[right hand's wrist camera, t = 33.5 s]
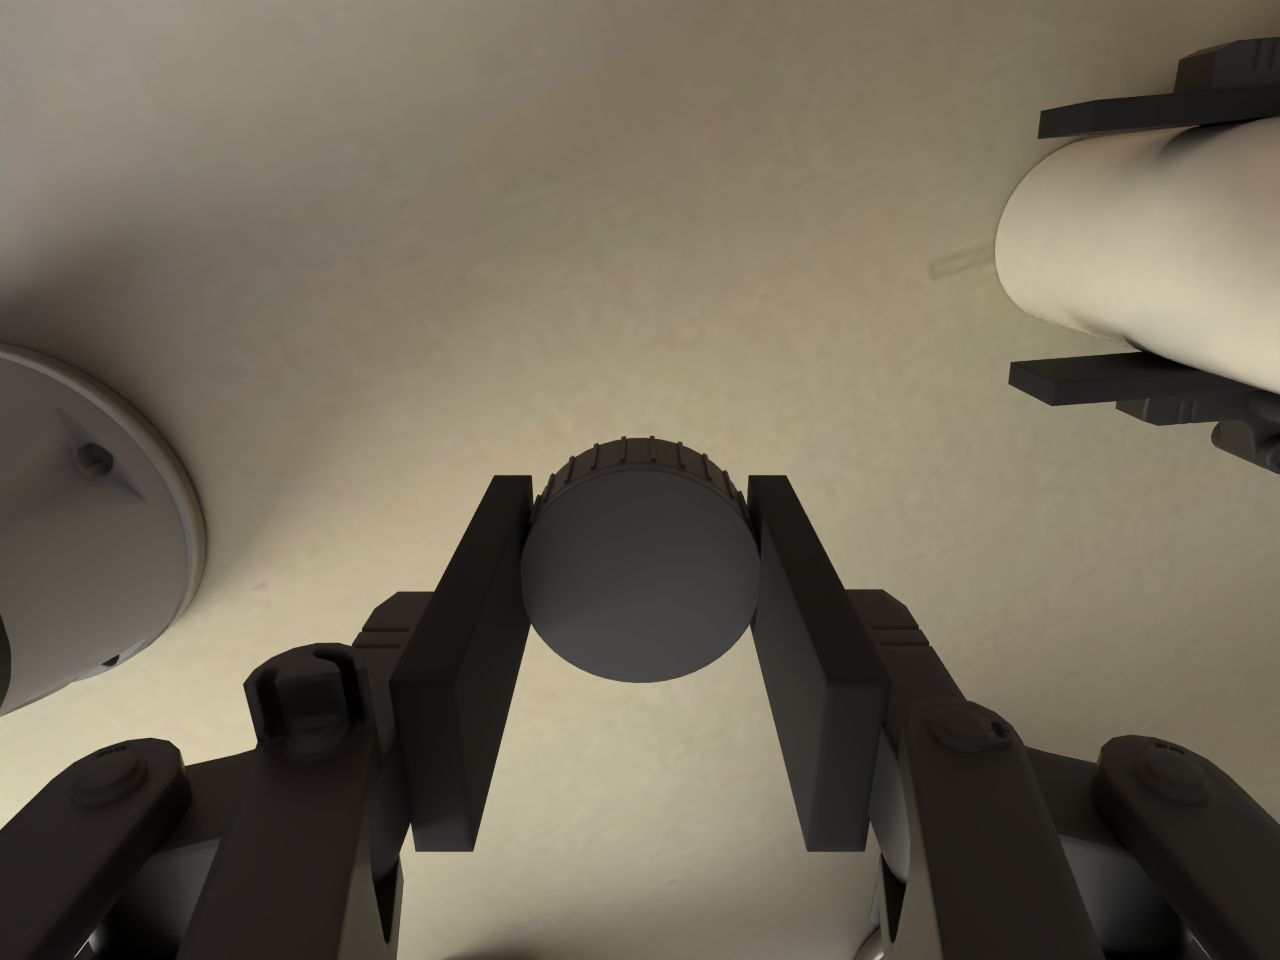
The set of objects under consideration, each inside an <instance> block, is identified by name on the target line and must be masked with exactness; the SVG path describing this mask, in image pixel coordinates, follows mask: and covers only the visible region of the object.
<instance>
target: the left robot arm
mask: <svg viewBox="0 0 1280 960" xmlns="http://www.w3.org/2000/svg"><path fill="white" fill-rule="evenodd" d="M1275 116H1280V37H1276V38H1275V37H1273V38H1262V39H1250V40H1239V41H1234V42H1230V43H1226V44H1222V45H1218V46H1214V47H1210V48H1206V49H1202V50H1199V51H1197V52H1195V53H1193V54H1191V55H1189V56H1187V57H1185V58H1183V59H1181V60H1179V65H1178V71H1177V76H1176V82H1175V87H1174V93H1173V94H1162V95H1150V96H1139V97H1127V98H1115V99H1104V100H1094V101H1089V102H1084V103H1079V104H1074V105H1069V106H1064V107H1059V108H1054V109H1049V110H1044V111H1041V116H1040V124H1039V132H1038V139H1043V138H1055V137H1067V136H1079V135H1091V134H1103V133H1114V132H1126V131H1138V130H1150V129H1162V128H1174V127H1185V126H1197V125H1207V124H1215V123H1224V122H1233V121H1241V120H1250V119H1258V118H1267V117H1275ZM1008 384H1010V385H1012V386H1014V387H1015V388H1017V389H1019V390H1021V391H1023V392H1025V393H1027V394H1029V395H1031V396H1033V397H1035V398H1037V399H1039V400H1041V401H1043V402H1045V403H1047V404H1049V405H1050V406H1059V405H1072V404H1085V403H1098V402H1111V401H1117V403H1116V409H1118V410H1120V411H1122V412H1125V413H1127V414H1129V415H1131V416H1133V417H1136V418H1138V419H1140V420H1142V421H1145V422H1148V423H1151V424H1154V425H1157V426H1161V425H1174V424H1187V423H1200V422H1213V421H1219V423H1218V424H1217V425H1216V427H1215V428H1214V429H1213V432H1212V435H1211V439H1212V443H1213V444H1214V446H1216V447H1218V448H1220V449H1222V450H1224V451H1227V452H1229V453H1231V454H1233V455H1235V456H1238V457H1240V458H1242V459H1244V460H1247V461H1249V462H1251V463H1253V464H1256V465H1258V466H1260V467H1263V468H1265V469H1268V470H1270V471H1272V472H1275V473H1277V474H1280V395H1279V394H1276V393H1273V392H1270V391H1266V390H1263V389H1260V388H1257V387H1254V386H1251V385H1247V384H1244V383H1241V382H1238V381H1235V380H1232V379H1228V378H1225V377H1222V376H1219V375H1216V374H1212V373H1209V372H1206V371H1203V370H1200V369H1197V368H1193V367H1190V366H1187V365H1184V364H1181V363H1178V362H1174V361H1171V360H1168V359H1165V358H1162V357H1158V356H1155V355H1152V354H1149V353H1146V352H1133V353H1120V354H1108V355H1095V356H1082V357H1070V358H1057V359H1044V360H1031V361H1019V362H1011V366H1010V374H1009V383H1008ZM855 960H884V957H883V946H882V935H881V927H880V928H879V929H878V930H877V931H876V932H875V933H874V934H873V935H872V936H871V937H870V938H869V939H868V940H867V941H866V943H865V944H864V945H863V947H862V948H861V950H860V951H859V953H858V955H857V957H856V959H855Z"/></svg>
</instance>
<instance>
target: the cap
mask: <svg viewBox="0 0 1280 960" xmlns="http://www.w3.org/2000/svg"><path fill="white" fill-rule="evenodd" d="M751 521H752V520H751V517H750V514H749V511H748V508H747V505H746V502H745V499H744V496H743V494H742V492H741V491H739V492H738V491H737V489H736V488H735V486H734V484H733V483H732V482H731V480H730V478H729V475H728V472H727V471H726V470H724V471H722V470H721V469H720V468H719V467H717V466H716V465H715V464H714V463H713V462H712V461H710V460H709V459H708V456H707V455H706V454H705V453H703V455H701V454H700V453H698V452H696V451H694V450H692V449H690V448H688V447H685V446H683V444H682V442H679V441H678V443H674V442H669V441H665V440H661V439H655V437H654V436H650V438H628V439H626V436H624V437H622V438H621V440H615V441H611V442H608V443H604V444H601V445H599V444H598V443H596V444H594V448H591V449H589V450H587V451H585V452H583V453H582V454H580V455H578V456H576V457H574V456H571V457H570V459H569V462H568V463H567V464H566V465H564V466H563V467H562V468H561V469H560V470H559V471H558V472H557V473H556V474H553V473H552V474H551V476H550V478H549V482H548V485H547V486H546V487H545V489H544V491H543V493H542V495H541V496H540V495H538V496H537V498H536V501H535V503H534V506H533V509H532V512H531V515H530V518H529V521H528V524H527V525H529V526H530V527H529V530H528V533H527V536H526V539H525V542H524V545H523V548H522V551H521V556H520V570H521V584H522V598H523V607H524V609H525V611H526V614H527V616H528V619H529V620H530V622H531V624H532V625H533V627H534V629H535V630H536V632H537V633H538V634H539V636H540V637H541V638H542V640H543V641H544V642H545V643H546V644H547V645H548V646H549V647H550V648H551V649H552V650H553V651H554V652H555V653H557V654H558V655H559V656H560V657H562V658H563V659H564V660H566V661H567V662H569V663H571V664H572V665H574V666H576V667H577V668H579V669H581V670H584V671H586V672H588V673H591V674H593V675H596V676H599V677H603V678H606V679H610V680H615V681H621V682H631V683H651V682H659V681H666V680H670V679H675V678H679V677H682V676H685V675H687V674H690V673H693V672H695V671H697V670H699V669H701V668H703V667H705V666H707V665H709V664H710V663H712V662H713V661H715V660H717V659H718V658H720V657H721V656H722V655H723V654H724V653H725V652H727V651H728V650H729V649H730V648H731V647H732V646H733V645H734V644H735V643H736V642H737V641H738V640H739V638H740V637H741V636H742V634H743V633H744V632H745V630H746V629H747V627H748V626H749V624H750V622H751V620H752V618H753V616H754V614H755V612H756V609H757V604H758V591H759V577H760V562H761V556H760V552H759V548H758V542H757V539H756V536H755V533H754V530H753V527H752V524H751Z"/></svg>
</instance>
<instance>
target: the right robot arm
mask: <svg viewBox="0 0 1280 960" xmlns="http://www.w3.org/2000/svg"><path fill="white" fill-rule="evenodd" d="M533 506H534V504H533V488H532V475H494V477H493V479H492V481H491V483H490V485H489V487H488V489H487V491H486V493H485V495H484V496H483V498H482V500H481V502H480V504H479V506H478V508H477V510H476V512H475V514H474V516H473V518H472V520H471V522H470V524H469V526H468V528H467V529H466V531H465V533H464V535H463V537H462V539H461V541H460V543H459V545H458V547H457V549H456V551H455V553H454V555H453V557H452V559H451V561H450V562H449V564H448V566H447V568H446V570H445V572H444V574H443V576H442V578H441V580H440V582H439V584H438V586H437V588H436V590H435V592H397V593H395V594H394V595H393V596H391V597H390V598H389V599H387V600H386V601H384V602H383V603H382V604H380V605H379V606H378V607H376V608H375V609H374V611H373V612H372V614H371V615H370V617H369V618H368V620H367V622H366V623H365V625H364V626H363V628H362V632H360V633H359V634H358V636H357V637H356V639H355V640H354V642H353V644H352V646H348V645H345V644H341V643H315V644H310V645H306V646H301V647H297V648H293V649H291V650H288V651H286V652H283V653H281V654H279V655H276V656H274V657H272V658H270V659H269V660H267V661H266V662H265V663H263V664H262V665H260V666H259V667H257V668H256V669H255V670H254V671H253V672H252V673H251V674H250V676H249V677H248V678H247V680H246V681H245V682H244V684H243V686H244V690H245V694H246V698H247V702H248V706H249V709H250V713H251V717H252V721H253V725H254V729H255V733H256V737H257V741H258V743H257V745H256V748H255V749H254V750H250V751H247V752H243V753H240V754H237V755H233V756H228V757H224V758H219V759H215V760H210V761H206V762H201V763H197V764H192V765H188V766H184V762H183V759H182V756H181V753H180V750H179V749H178V748H177V747H176V746H174V745H173V744H172V743H171V742H170V741H167V740H161V739H155V738H144V739H135V740H127V741H123V742H120V743H117V744H114V745H110V746H108V747H105V748H102V749H99V750H97V751H95V752H93V753H91V754H89V755H88V756H86V757H84V758H82V759H80V760H78V761H76V762H74V763H73V764H71V765H70V766H69V767H68V768H66V769H65V770H64V771H62V772H61V773H60V774H59V775H57V776H56V777H55V778H53V779H52V780H51V781H50V782H49V783H48V784H47V785H46V786H45V787H44V788H43V789H42V790H41V791H40V792H39V793H38V794H37V795H36V796H35V797H34V798H33V799H32V800H31V801H30V802H29V803H27V804H26V805H25V806H24V807H23V808H22V809H21V810H20V811H19V812H18V813H17V814H16V815H15V816H14V817H13V818H12V819H11V820H10V821H9V822H8V823H7V824H6V825H5V826H4V827H3V828H2V829H1V830H0V960H72V959H73V958H74V957H75V955H76V954H77V953H78V951H79V950H80V949H81V948H82V946H83V945H84V944H85V942H86V941H87V940H88V941H87V943H86V944H85V945H84V947H83V948H82V949H81V951H80V952H79V953H78V955H77V956H76V957H75V958H74V959H73V960H396V959H397V948H398V937H399V926H400V915H401V904H402V893H403V882H404V880H403V874H402V867H401V861H400V855H399V853H400V850H401V847H402V845H403V842H404V839H405V836H406V834H407V831H408V828H409V825H410V823H411V826H412V832H413V838H414V844H415V851H416V852H473V850H474V846H475V842H476V839H477V835H478V831H479V827H480V823H481V819H482V815H483V811H484V807H485V803H486V799H487V795H488V791H489V787H490V783H491V779H492V775H493V771H494V767H495V763H496V759H497V755H498V752H499V748H500V744H501V740H502V736H503V732H504V728H505V724H506V720H507V716H508V712H509V708H510V704H511V700H512V696H513V692H514V688H515V684H516V680H517V676H518V672H519V669H520V665H521V661H522V657H523V653H524V649H525V645H526V641H527V637H528V633H529V629H530V625H531V622H530V620H529V619H528V616H527V614H526V611H525V609H524V607H523V598H522V584H521V570H520V556H521V551H522V548H523V545H524V542H525V539H526V536H527V533H528V530H529V527H530V526H529V525H527V524H528V521H529V518H530V515H531V512H532V509H533ZM747 508H748V511H749V514H750V517H751V520H752V521H751V524H752V527H753V530H754V533H755V536H756V539H757V542H758V548H759V552H760V556H761V562H760V577H759V591H758V604H757V609H756V612H755V614H754V616H753V618H752V620H751V622H750V627H751V631H752V635H753V639H754V643H755V647H756V651H757V655H758V659H759V663H760V667H761V671H762V675H763V679H764V683H765V687H766V691H767V694H768V698H769V702H770V706H771V710H772V714H773V718H774V722H775V726H776V730H777V734H778V738H779V742H780V746H781V750H782V754H783V758H784V762H785V766H786V770H787V773H788V777H789V781H790V785H791V789H792V793H793V797H794V801H795V805H796V809H797V813H798V817H799V821H800V825H801V829H802V833H803V837H804V841H805V845H806V849H807V852H865V847H866V841H867V835H868V829H869V823H870V821H871V823H872V826H873V829H874V832H875V834H876V837H877V840H878V843H879V845H880V848H881V855H880V861H879V867H878V873H877V878H876V884H875V890H874V896H873V901H872V907H871V914H870V920H869V923H872V924H877V925H878V923H879V918H880V924H881V935H882V946H883V957H884V960H1211V959H1212V960H1280V825H1279V824H1278V823H1277V822H1276V821H1275V820H1274V819H1273V818H1272V817H1271V816H1270V815H1269V814H1268V813H1267V812H1266V811H1265V810H1264V809H1263V808H1262V807H1261V806H1260V805H1259V804H1258V803H1257V802H1256V801H1255V800H1254V799H1252V798H1251V797H1250V796H1249V795H1248V794H1247V793H1246V792H1245V791H1244V790H1243V789H1242V788H1241V787H1240V786H1239V785H1238V784H1237V783H1236V782H1235V781H1234V780H1233V779H1232V778H1231V777H1230V776H1228V775H1227V774H1226V773H1225V772H1223V771H1222V770H1221V769H1219V768H1218V767H1217V766H1215V765H1214V764H1213V763H1212V762H1210V761H1209V760H1208V759H1206V758H1204V757H1202V756H1200V755H1198V754H1196V753H1194V752H1192V751H1190V750H1188V749H1186V748H1184V747H1182V746H1180V745H1177V744H1174V743H1171V742H1167V741H1164V740H1161V739H1158V738H1154V737H1146V736H1137V735H1127V736H1121V737H1116V738H1112V739H1111V740H1109V741H1108V742H1107V743H1106V744H1105V745H1104V746H1102V748H1101V751H1100V754H1099V758H1098V761H1097V763H1092V762H1088V761H1083V760H1079V759H1074V758H1070V757H1065V756H1061V755H1056V754H1052V753H1047V752H1044V751H1040V750H1037V749H1033V748H1030V747H1027V746H1024V744H1023V742H1022V740H1021V738H1020V737H1019V735H1018V734H1017V732H1016V731H1015V729H1014V728H1013V726H1012V725H1010V724H1009V723H1008V722H1007V721H1005V720H1004V719H1003V718H1002V717H1000V716H999V715H998V714H997V713H995V712H994V711H991V710H989V709H987V708H985V707H983V706H981V705H979V704H977V703H975V702H971V701H967V700H966V699H965V697H964V696H963V694H962V693H961V691H960V690H959V688H958V686H957V685H956V683H955V682H954V680H953V679H952V677H951V676H950V674H949V672H948V671H947V669H946V668H945V666H944V665H943V663H942V662H941V660H940V658H939V657H938V655H937V654H936V652H935V651H934V649H933V648H932V646H929V641H928V640H927V638H926V637H925V635H924V634H923V632H922V630H919V626H918V624H917V623H916V621H915V619H914V618H913V616H912V615H911V613H910V612H909V610H908V609H907V607H906V606H905V605H904V604H902V603H901V602H899V601H898V600H897V599H895V598H894V597H892V596H891V595H890V594H888V593H887V592H886V591H884V590H883V589H844V587H843V585H842V583H841V581H840V579H839V577H838V575H837V573H836V571H835V569H834V567H833V565H832V563H831V562H830V560H829V558H828V556H827V554H826V552H825V550H824V548H823V546H822V544H821V542H820V540H819V538H818V536H817V534H816V532H815V530H814V529H813V527H812V525H811V523H810V521H809V519H808V517H807V515H806V513H805V511H804V509H803V507H802V505H801V503H800V501H799V499H798V498H797V496H796V494H795V492H794V490H793V488H792V486H791V484H790V482H789V480H788V478H787V476H786V475H749V479H748V496H747ZM205 552H206V542H205V530H204V523H203V518H202V514H201V510H200V506H199V503H198V500H197V497H196V495H195V492H194V489H193V487H192V485H191V483H190V481H189V479H188V476H187V474H186V472H185V471H184V469H183V467H182V466H181V464H180V462H179V461H178V459H177V457H176V456H175V454H174V453H173V452H172V450H171V449H170V447H169V446H168V445H167V443H166V442H165V441H164V439H163V438H162V437H161V436H160V435H159V433H158V432H157V431H156V430H155V429H154V427H153V426H152V425H151V424H150V423H149V422H148V421H147V420H146V419H145V418H144V417H143V416H142V415H141V414H140V413H139V412H138V411H136V410H135V409H134V408H133V407H132V406H131V405H130V404H128V403H127V402H126V401H125V400H124V399H122V398H121V397H120V396H119V395H117V394H116V393H115V392H113V391H112V390H111V389H109V388H108V387H106V386H105V385H103V384H102V383H100V382H99V381H97V380H95V379H94V378H92V377H91V376H89V375H87V374H85V373H83V372H82V371H80V370H78V369H76V368H74V367H72V366H70V365H68V364H66V363H63V362H61V361H59V360H57V359H55V358H52V357H49V356H47V355H44V354H41V353H38V352H35V351H32V350H28V349H25V348H21V347H17V346H13V345H8V344H2V343H0V717H1V716H3V715H6V714H8V713H10V712H13V711H15V710H17V709H20V708H22V707H24V706H27V705H29V704H31V703H33V702H36V701H38V700H40V699H42V698H44V697H46V696H48V695H51V694H53V693H55V692H56V691H58V690H60V689H62V688H64V687H65V686H67V685H69V684H70V683H72V682H75V681H80V680H83V679H87V678H90V677H93V676H95V675H98V674H101V673H103V672H105V671H108V670H110V669H112V668H114V667H116V666H118V665H120V664H122V663H123V662H125V661H127V660H128V659H130V658H131V657H133V656H134V655H136V654H138V653H139V652H141V651H142V650H144V649H145V648H146V647H148V646H149V645H151V644H152V643H153V642H154V641H155V640H156V639H157V638H158V637H160V636H161V635H162V634H163V633H164V632H165V631H166V630H167V629H168V628H169V627H170V626H171V625H172V624H173V623H175V622H176V621H177V619H178V618H179V617H180V616H181V615H182V614H183V613H184V611H185V610H186V609H187V607H188V606H189V604H190V603H191V601H192V599H193V597H194V595H195V593H196V591H197V589H198V586H199V583H200V581H201V578H202V574H203V569H204V564H205ZM1194 936H1195V938H1196V939H1197V940H1198V942H1199V943H1200V944H1201V946H1202V947H1203V948H1204V950H1205V951H1206V952H1207V954H1208V955H1209V956H1210V957H1211V959H1210V958H1209V957H1208V956H1207V955H1206V954H1205V953H1204V951H1203V950H1202V949H1201V947H1200V946H1199V945H1198V943H1197V942H1196V941H1195V939H1194V938H1193V937H1194Z"/></svg>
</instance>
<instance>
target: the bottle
mask: <svg viewBox="0 0 1280 960" xmlns="http://www.w3.org/2000/svg"><path fill="white" fill-rule="evenodd" d="M995 260H996V267H997V271H998V275H999V279H1000V281H1001V283H1002V285H1003V288H1004V290H1005V291H1006V293H1007V294H1008V296H1009V297H1010V298H1011V300H1012V301H1013V302H1014V303H1015V304H1016V305H1017V306H1018V307H1019V308H1021V309H1022V310H1023V311H1025V312H1026V313H1028V314H1030V315H1032V316H1033V317H1036V318H1039V319H1041V320H1044V321H1047V322H1050V323H1054V324H1057V325H1060V326H1063V327H1066V328H1070V329H1073V330H1076V331H1079V332H1082V333H1085V334H1089V335H1092V336H1095V337H1098V338H1101V339H1104V340H1108V341H1111V342H1114V343H1117V344H1120V345H1124V346H1127V347H1130V348H1133V349H1136V350H1139V351H1143V352H1146V353H1149V354H1152V355H1155V356H1158V357H1162V358H1165V359H1168V360H1171V361H1174V362H1178V363H1181V364H1184V365H1187V366H1190V367H1193V368H1197V369H1200V370H1203V371H1206V372H1209V373H1212V374H1216V375H1219V376H1222V377H1225V378H1228V379H1232V380H1235V381H1238V382H1241V383H1244V384H1247V385H1251V386H1254V387H1257V388H1260V389H1263V390H1266V391H1270V392H1273V393H1276V394H1279V395H1280V116H1275V117H1267V118H1258V119H1250V120H1241V121H1233V122H1224V123H1215V124H1207V125H1198V126H1189V127H1180V128H1172V129H1163V130H1155V131H1146V132H1138V133H1129V134H1121V135H1112V136H1104V137H1095V138H1090V139H1085V140H1081V141H1078V142H1075V143H1072V144H1069V145H1067V146H1065V147H1063V148H1061V149H1059V150H1057V151H1056V152H1054V153H1052V154H1051V155H1049V156H1048V157H1046V158H1045V159H1044V160H1042V161H1041V162H1040V163H1039V164H1037V165H1036V166H1035V167H1034V168H1033V169H1032V170H1031V171H1030V172H1029V173H1028V174H1027V175H1026V176H1025V177H1024V179H1023V180H1022V181H1021V182H1020V184H1019V185H1018V186H1017V188H1016V189H1015V191H1014V192H1013V194H1012V195H1011V197H1010V199H1009V201H1008V203H1007V205H1006V207H1005V209H1004V211H1003V214H1002V216H1001V219H1000V222H999V226H998V230H997V234H996V242H995Z"/></svg>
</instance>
